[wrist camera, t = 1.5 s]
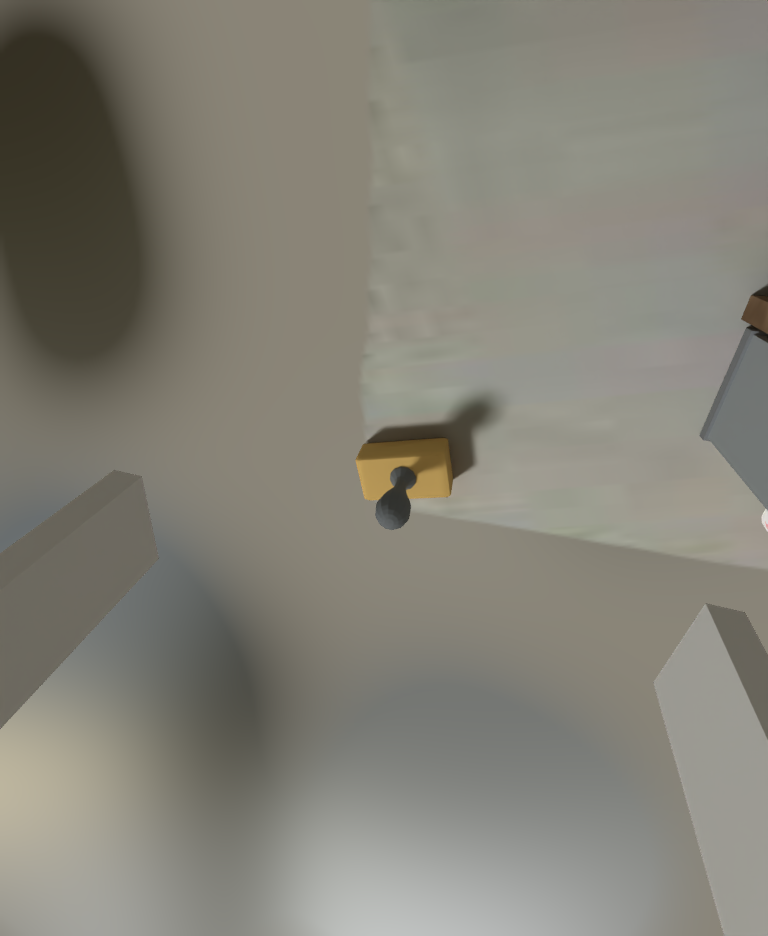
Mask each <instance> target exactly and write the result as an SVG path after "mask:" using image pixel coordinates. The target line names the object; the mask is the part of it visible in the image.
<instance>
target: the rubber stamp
mask: <svg viewBox="0 0 768 936" xmlns="http://www.w3.org/2000/svg"><path fill="white" fill-rule="evenodd" d="M356 464H357V469H358V472H359V477H360V481H361V485H362V489H363V493H364V498H365V499H367V500H379V501H378V502H377V505H376V518H377V520H378V522H379V524H380V525H381V526H383V527H384V528H386V529H390V530H394V529H398V528H401V527H402V526H403V525H404V524H405V523H406V522H407V521H408V519H409V516H410V509H411V505H410V501H409V499H412V498H436V497H448V496H450V495H451V490H452V483H453V474H452V466H451V459H450V451H449V443H448V439H446V438H435V439H421V440H408V441H395V442H381V443H368V444H363V446H362V448H361V450H360V452H359V454H358V456H357V458H356Z"/></svg>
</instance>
